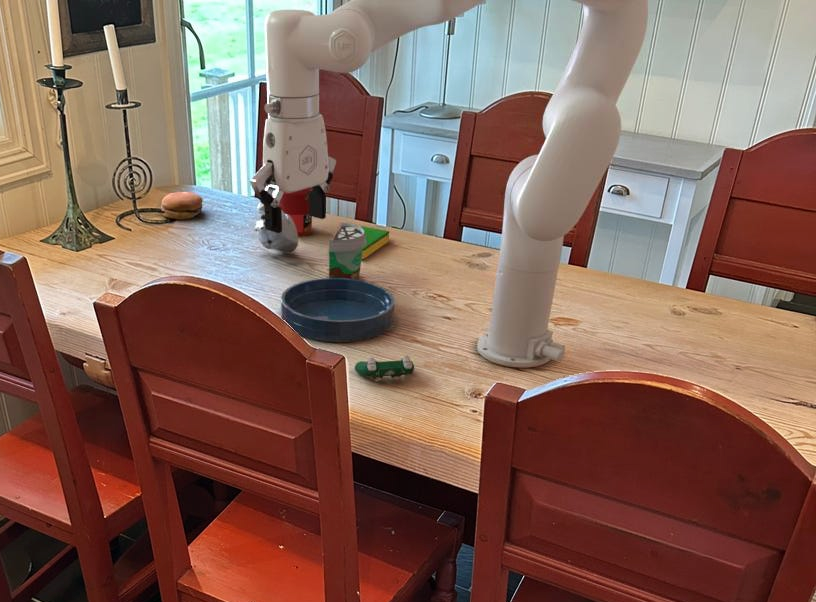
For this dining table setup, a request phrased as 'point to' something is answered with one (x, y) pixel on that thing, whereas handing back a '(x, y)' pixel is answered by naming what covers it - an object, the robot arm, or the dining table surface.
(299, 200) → the canned food
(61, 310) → the dining table surface
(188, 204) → the burger
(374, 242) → the dish sponge
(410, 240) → the dining table surface
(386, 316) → the basin
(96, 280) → the dining table surface
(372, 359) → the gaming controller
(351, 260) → the food container
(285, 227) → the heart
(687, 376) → the dining table surface
